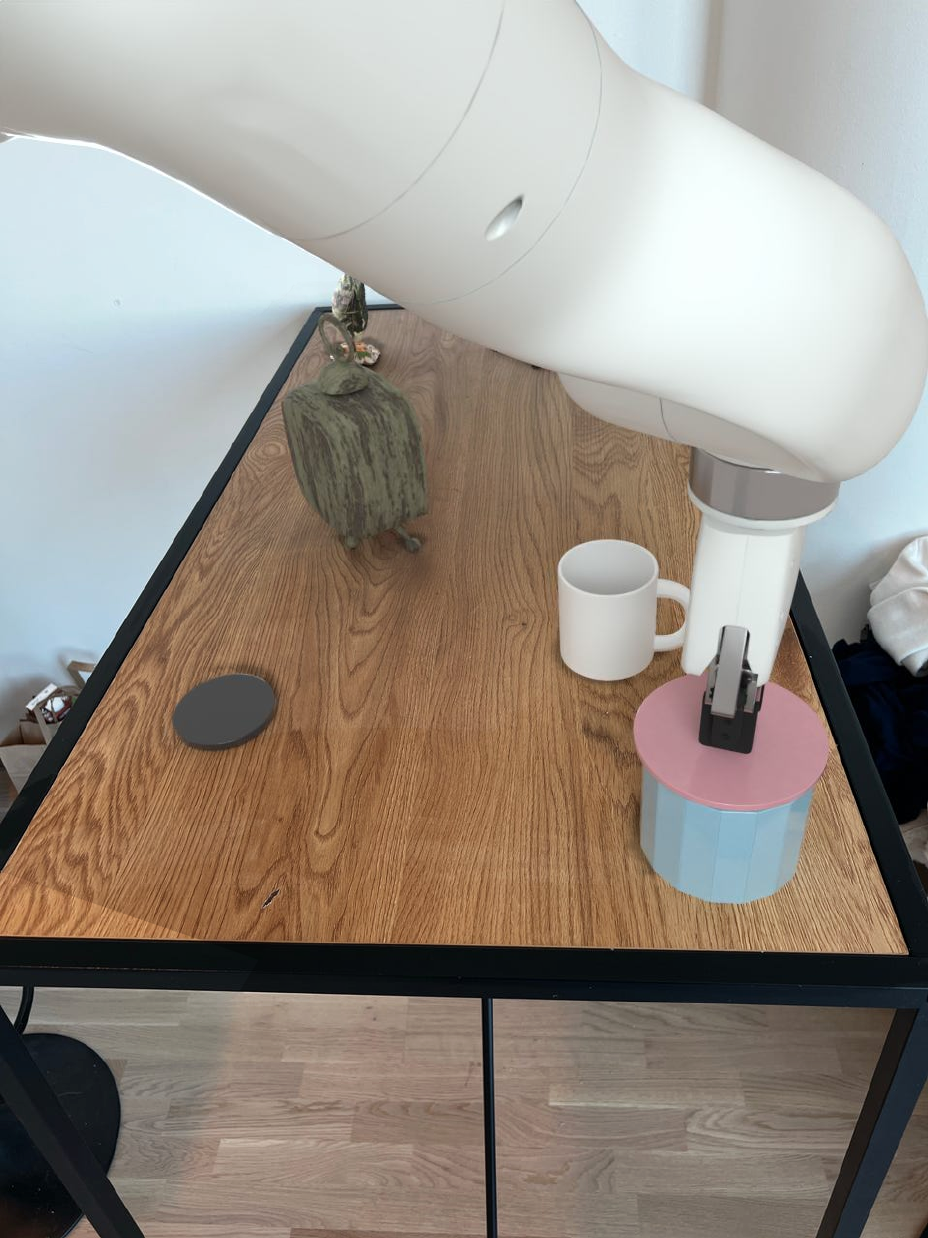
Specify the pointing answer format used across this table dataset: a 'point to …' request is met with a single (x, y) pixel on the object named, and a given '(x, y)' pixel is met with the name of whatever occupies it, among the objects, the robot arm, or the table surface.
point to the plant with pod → (353, 318)
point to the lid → (723, 778)
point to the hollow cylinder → (721, 844)
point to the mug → (613, 609)
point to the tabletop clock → (356, 448)
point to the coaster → (224, 712)
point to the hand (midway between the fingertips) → (730, 723)
